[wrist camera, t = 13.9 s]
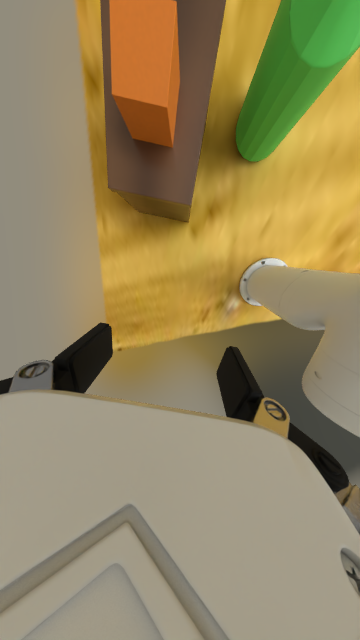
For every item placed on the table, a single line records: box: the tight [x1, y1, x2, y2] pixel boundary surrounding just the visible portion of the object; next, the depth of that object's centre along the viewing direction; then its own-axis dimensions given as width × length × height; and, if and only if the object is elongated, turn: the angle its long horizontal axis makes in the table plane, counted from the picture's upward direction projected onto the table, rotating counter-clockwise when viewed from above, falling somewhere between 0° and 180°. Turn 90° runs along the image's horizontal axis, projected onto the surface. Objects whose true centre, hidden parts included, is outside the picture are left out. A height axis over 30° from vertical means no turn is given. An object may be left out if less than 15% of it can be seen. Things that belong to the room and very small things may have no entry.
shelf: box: [100, 0, 226, 222], centre depth 22 cm, size 13×16×13 cm
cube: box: [109, 0, 180, 148], centre depth 14 cm, size 5×5×5 cm
